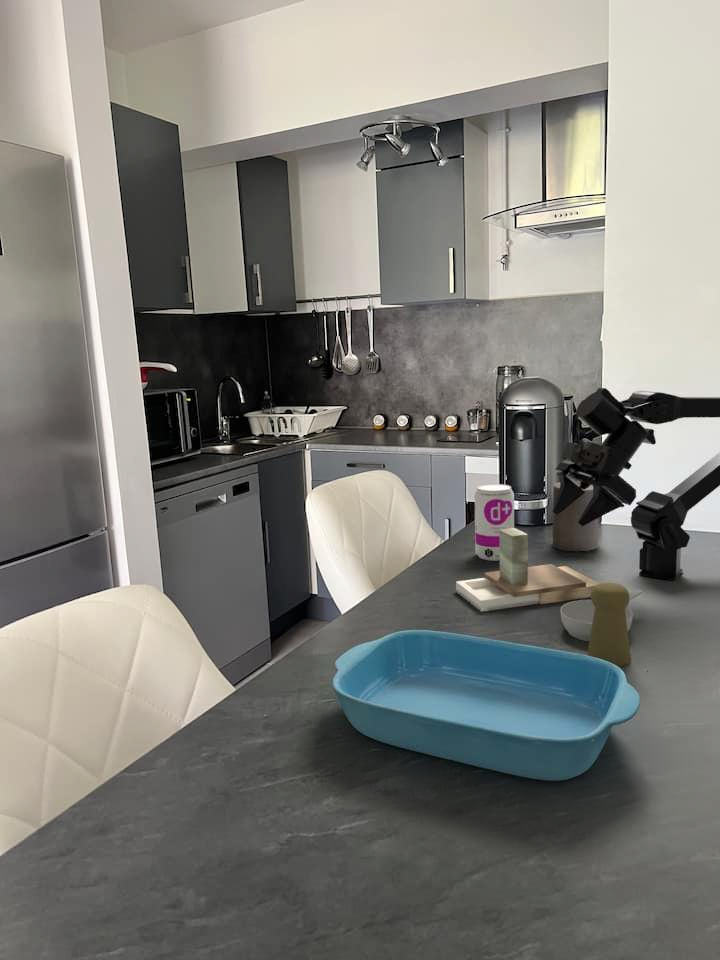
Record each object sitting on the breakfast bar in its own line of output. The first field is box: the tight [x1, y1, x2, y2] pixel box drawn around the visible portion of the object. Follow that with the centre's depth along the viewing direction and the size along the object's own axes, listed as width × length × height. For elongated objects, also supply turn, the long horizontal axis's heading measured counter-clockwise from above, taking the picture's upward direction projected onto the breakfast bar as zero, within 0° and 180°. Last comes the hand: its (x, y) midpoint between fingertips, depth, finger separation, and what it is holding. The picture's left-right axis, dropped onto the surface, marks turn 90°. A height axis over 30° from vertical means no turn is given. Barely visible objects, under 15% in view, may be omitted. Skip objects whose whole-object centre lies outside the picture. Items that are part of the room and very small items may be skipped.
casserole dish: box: [331, 629, 641, 782], centre depth 90 cm, size 37×22×7 cm, turn 61°
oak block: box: [538, 565, 600, 605], centre depth 137 cm, size 12×12×2 cm
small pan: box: [560, 589, 643, 642], centre depth 119 cm, size 11×18×4 cm, turn 130°
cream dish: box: [455, 577, 539, 613], centre depth 134 cm, size 11×11×2 cm
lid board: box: [483, 527, 586, 597], centre depth 134 cm, size 14×12×10 cm
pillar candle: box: [551, 481, 599, 552], centre depth 162 cm, size 10×10×15 cm
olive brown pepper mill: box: [586, 582, 632, 668], centre depth 106 cm, size 6×6×11 cm
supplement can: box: [474, 483, 515, 562], centre depth 158 cm, size 8×8×15 cm
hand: (566, 519), depth 136 cm, fingers open, 9 cm apart
